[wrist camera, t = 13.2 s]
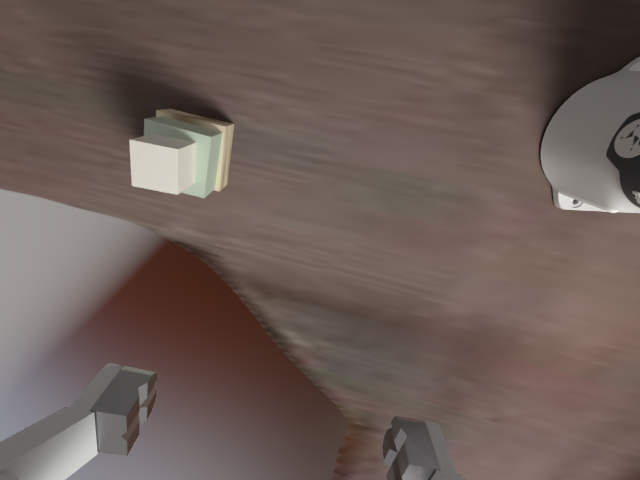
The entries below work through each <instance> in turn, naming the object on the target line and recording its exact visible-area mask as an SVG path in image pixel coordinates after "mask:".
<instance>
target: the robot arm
mask: <svg viewBox="0 0 640 480" xmlns="http://www.w3.org/2000/svg"><path fill="white" fill-rule="evenodd" d="M541 164H542V168H543V171H544V174H545V175H546V177H547V179H548V180H549V182H550V183H551V185H552V188H553V200H554V204H555V206H556V207H558V208H561V209H565V210H585V211H606V212H612V213H616V212H628V213H640V56H639V57H637V58H636V59H634V60H633V61H631V62H630V63H629V64H627V65H626V66H625V67H624V68H622V69H621V70H620V71H618V72H616V73H614V74H612V75H609V76H606V77H604V78H601V79H598V80H596V81H593V82H591V83H589V84H588V85H586V86H584V87H583V88H581V89H580V90H578V91H577V92H576V93H574V94H573V95H572V96H571V97H570V98H569V99H567V100H566V101H565V102H564V104H563V105H562V106H561V107H560V108H559V109H558V111H557V112H556V113H555V115H554V116H553V118H552V119H551V121H550V123H549V125H548V127H547V129H546V131H545V134H544V137H543V141H542V145H541ZM574 199H575V201H574V202H573V200H574ZM156 381H157V373H155V372H151V371H146V370H141V369H136V368H132V367H127V366H122V365H117V364H112V363H109V364H107V365H106V366H104V367H103V368H102V370H101V371H100V372H99V373H98V374H97V376H96V377H95V378H94V379H93V381H92V382H91V383H90V384H89V385H88V387H87V388H86V389H85V390H84V392H83V393H82V394H81V395H80V396H79V398H78V399H77V400H76V401H75V403H74V404H73V405H72V406H71V407H70V408H68V407H64V408H62V409H61V410H59V411H57V412H55V413H53V414H51V415H50V416H48V417H46V418H44V419H42V420H40V421H38V422H37V423H35V424H33V425H31V426H29V427H27V428H25V429H24V430H22V431H20V432H18V433H16V434H14V435H12V436H11V437H9V438H7V439H5V440H3V441H1V442H0V480H65V479H67V478H68V477H69V476H70V475H72V474H73V473H74V472H75V471H77V470H78V469H79V468H80V467H82V466H83V465H84V464H86V463H87V462H88V461H89V460H91V458H93V457H94V456H96V455H97V454H98V452H103V453H110V454H118V455H125V456H127V455H128V454H129V452H130V450H131V448H132V447H133V444H134V443H135V441H136V439H137V438H138V436H139V426H140V425H141V424H142V423H144V422H145V421H147V419H148V417H149V415H150V413H151V412H152V409H153V407H154V404H155V401H156V396H157V389H156V388H155V386H154V385H155V383H156ZM391 427H392V428H390V429H388V430H387V431H386V433H385V435H384V438H383V445H382V451H383V459H384V462H385V463H386V465H387V466H388V468H389V470H388V472H387V474H386V478H387V480H465V479H464V478H463V477H462V476H461V474H456V471H455V468H454V466H453V463H452V460H451V457H450V454H449V451H448V449H447V446H446V443H445V440H444V437H443V434H442V432H441V429H440V426H439V425H438V424H437V423H433V422H427V421H422V420H418V419H412V418H406V417H400V416H395V417H393V419H392V421H391Z"/></svg>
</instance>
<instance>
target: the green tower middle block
mask: <svg viewBox="0 0 640 480" xmlns="http://www.w3.org/2000/svg"><path fill="white" fill-rule="evenodd" d="M151 134H157V135H161V136H166V137H171V138H176V139H181V140H186V141H191V142H196V164H195V183H194V184H193V185H191V186H190V187H188V188H187V189H185V190H184V191H183V192H181V193H185V194H189V195H193V196H197V197H201V198H205V197H206V196H207V195H208V194H210V193H211V192H212V191H213V190H214V189H215V186H216V178H217V171H218V163H219V156H220V148H221V141H222V133H221V132H218V131H214V130H210V129H207V128H203V127H200V126H196V125H192V124H189V123H185V122H182V121H178V120H174V119H171V118H167V117H164V116H160V117H152V118H145V119H144V136H147V135H151Z"/></svg>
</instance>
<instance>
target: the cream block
mask: <svg viewBox="0 0 640 480" xmlns="http://www.w3.org/2000/svg"><path fill="white" fill-rule="evenodd" d="M129 141H130V158H131V176H132V186H135V187H140V188H146V189H151V190H156V191H161V192H166V193H172V194H177V195H178V194H180V193H181V192H183V191H184V190H185V189H187V188H188V187H190V186H191V185H193V184H194V183H195V164H196V142H191V141H186V140H181V139H176V138H171V137H166V136H161V135H157V134H151V135H147V136H142V137H138V138H134V139H130V140H129Z"/></svg>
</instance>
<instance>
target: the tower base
mask: <svg viewBox="0 0 640 480" xmlns="http://www.w3.org/2000/svg"><path fill="white" fill-rule="evenodd" d="M160 116H164V117H167V118H171V119H174V120H178V121H182V122H185V123H189V124H192V125H196V126H200V127H203V128H207V129H210V130H214V131H218V132H221V133H222V141H221V148H220V156H219V163H218V171H217V178H216V186H215V189H214V190H215V191H220V190H222V189H223V188H224V187H225V186H226V185H227V184H228V175H229V166H230V156H231V147H232V138H233V129H234V124H232V123H228V122H224V121H220V120H215V119H211V118H207V117H203V116H199V115H195V114H190V113H186V112H182V111H178V110H174V109H162V110H156V117H160Z"/></svg>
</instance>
